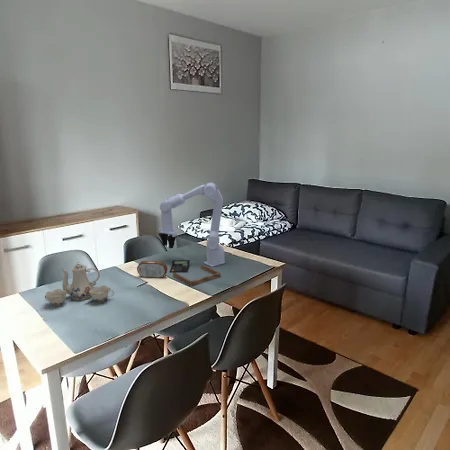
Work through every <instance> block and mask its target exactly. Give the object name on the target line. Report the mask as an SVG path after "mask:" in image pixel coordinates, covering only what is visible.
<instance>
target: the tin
mask: <svg viewBox="0 0 450 450" xmlns="http://www.w3.org/2000/svg"><path fill="white" fill-rule="evenodd" d="M136 270H137V274H138V275H139V276H140V277H142V278H148V279H149V278H150V279H152V278H155V279H161V278H163V277H165V276H166V275H167V273H168V266H167V264H166V263H165V262H163V261H161V260H142V261H140V262H139V263H138V265H137V267H136Z"/></svg>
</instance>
